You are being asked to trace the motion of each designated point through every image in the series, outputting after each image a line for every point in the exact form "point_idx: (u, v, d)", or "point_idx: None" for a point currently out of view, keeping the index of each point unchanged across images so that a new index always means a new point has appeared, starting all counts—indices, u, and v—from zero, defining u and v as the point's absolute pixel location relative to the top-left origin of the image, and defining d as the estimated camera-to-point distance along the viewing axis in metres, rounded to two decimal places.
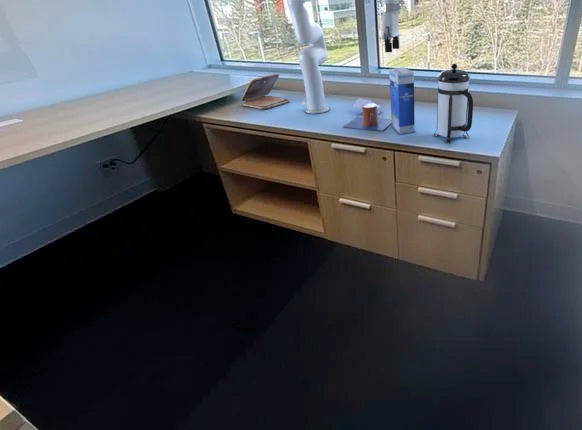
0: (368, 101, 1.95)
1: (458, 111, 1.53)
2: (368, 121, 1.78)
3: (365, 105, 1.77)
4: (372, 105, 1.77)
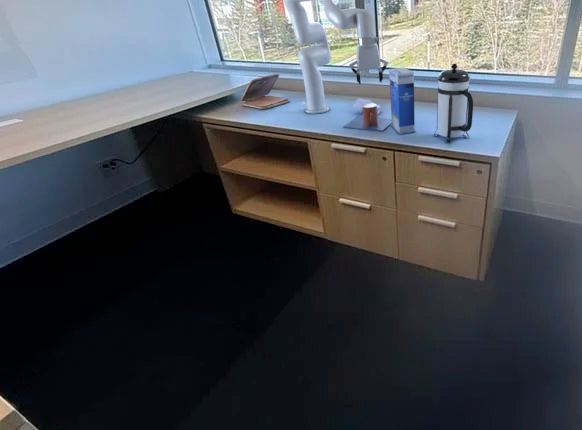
0: (368, 101, 1.95)
1: (458, 111, 1.53)
2: (368, 121, 1.78)
3: (365, 105, 1.77)
4: (372, 105, 1.77)
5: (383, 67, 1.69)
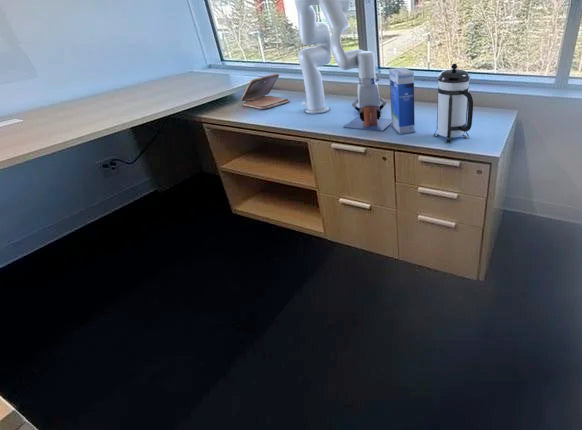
0: None
1: (458, 111, 1.53)
2: (368, 121, 1.78)
3: None
4: None
5: (381, 106, 1.77)
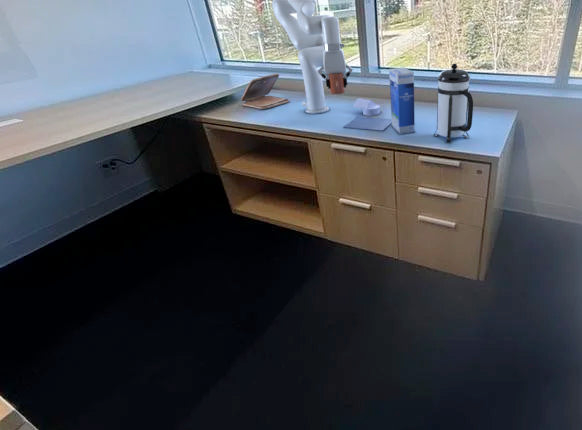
0: (368, 101, 1.95)
1: (458, 111, 1.53)
2: (334, 88, 1.77)
3: None
4: None
5: (347, 73, 1.77)
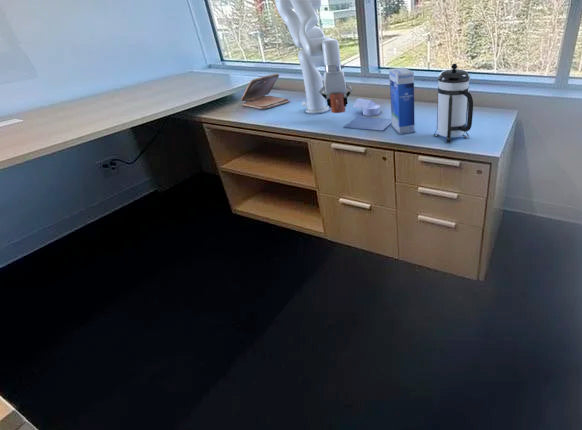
0: (368, 101, 1.95)
1: (458, 111, 1.53)
2: (335, 108, 1.82)
3: None
4: None
5: (347, 93, 1.82)
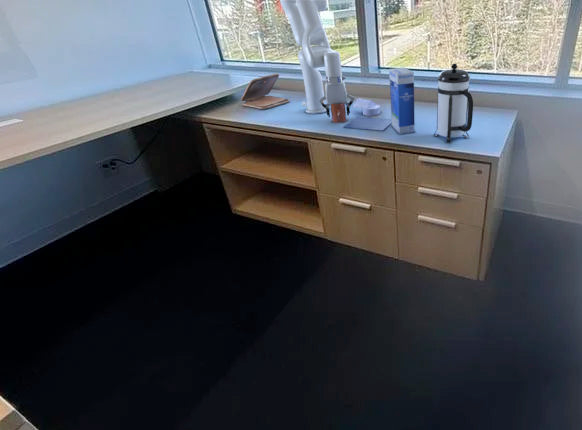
0: (368, 101, 1.95)
1: (458, 111, 1.53)
2: (336, 118, 1.85)
3: None
4: None
5: (350, 102, 1.85)
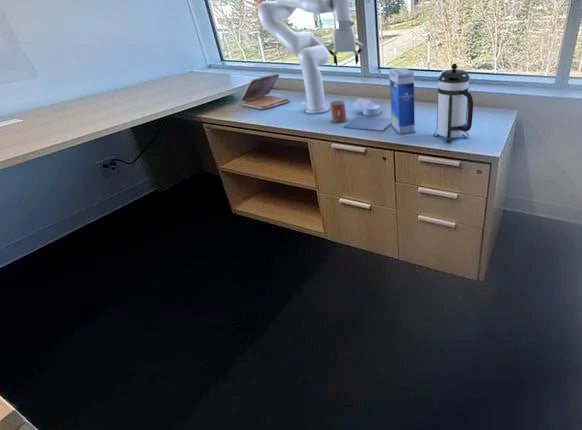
0: (368, 101, 1.95)
1: (458, 111, 1.53)
2: (336, 118, 1.85)
3: (333, 102, 1.84)
4: (340, 102, 1.84)
5: (358, 50, 1.80)
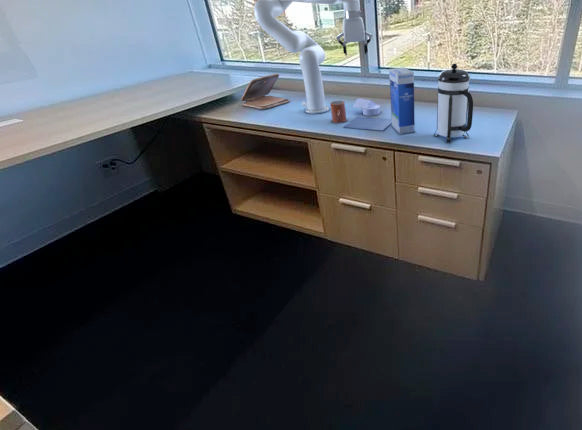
0: (368, 101, 1.95)
1: (458, 111, 1.53)
2: (336, 118, 1.85)
3: (333, 102, 1.84)
4: (340, 102, 1.84)
5: (368, 40, 1.83)
